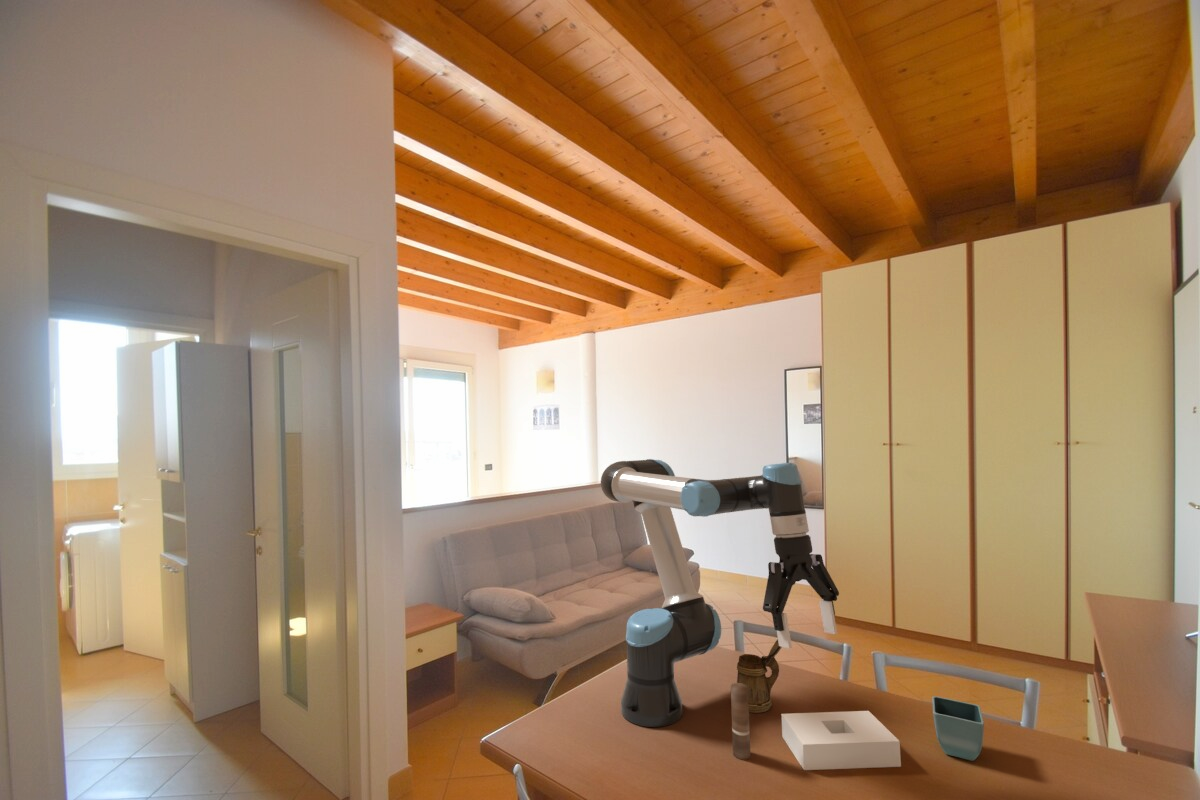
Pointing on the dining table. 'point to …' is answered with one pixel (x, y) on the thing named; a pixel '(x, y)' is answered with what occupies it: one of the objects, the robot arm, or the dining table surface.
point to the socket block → (840, 740)
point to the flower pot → (958, 727)
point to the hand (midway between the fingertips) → (808, 640)
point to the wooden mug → (758, 678)
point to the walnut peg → (740, 721)
